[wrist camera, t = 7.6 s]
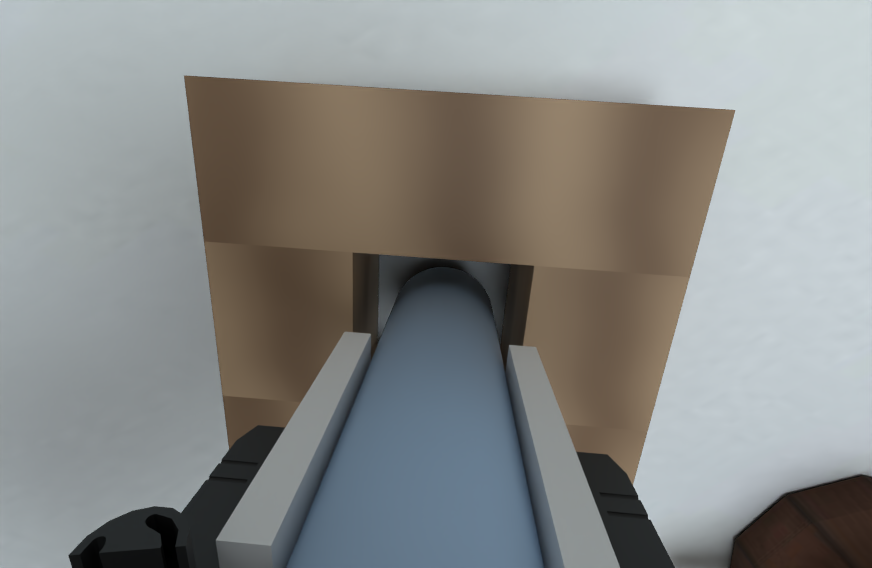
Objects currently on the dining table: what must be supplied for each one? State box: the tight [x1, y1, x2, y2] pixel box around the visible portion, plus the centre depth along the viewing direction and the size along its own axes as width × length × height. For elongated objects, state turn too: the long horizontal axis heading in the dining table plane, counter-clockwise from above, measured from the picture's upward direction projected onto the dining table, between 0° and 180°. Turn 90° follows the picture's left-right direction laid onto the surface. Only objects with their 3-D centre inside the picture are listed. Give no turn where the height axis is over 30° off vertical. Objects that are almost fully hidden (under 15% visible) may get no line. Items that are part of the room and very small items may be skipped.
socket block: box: [184, 76, 735, 485], centre depth 17 cm, size 16×16×5 cm
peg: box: [286, 267, 545, 568], centre depth 9 cm, size 4×4×16 cm
